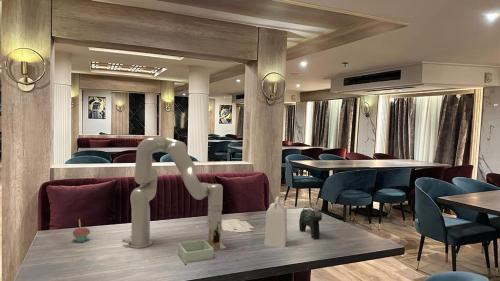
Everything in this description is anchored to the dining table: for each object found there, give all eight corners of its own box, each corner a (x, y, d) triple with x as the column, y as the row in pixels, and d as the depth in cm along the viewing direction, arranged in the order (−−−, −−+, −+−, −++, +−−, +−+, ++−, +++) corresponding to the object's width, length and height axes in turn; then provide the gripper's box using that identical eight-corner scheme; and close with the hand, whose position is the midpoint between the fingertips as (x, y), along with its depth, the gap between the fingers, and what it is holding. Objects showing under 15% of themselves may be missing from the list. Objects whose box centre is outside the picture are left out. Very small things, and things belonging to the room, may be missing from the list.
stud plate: (208, 253, 173) (208, 240, 173) (202, 246, 182) (202, 235, 182) (226, 250, 178) (226, 238, 177) (219, 244, 187) (219, 232, 186)
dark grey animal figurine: (322, 239, 199) (323, 206, 199) (312, 240, 197) (314, 207, 196) (304, 229, 218) (305, 199, 217) (296, 230, 216) (297, 199, 215)
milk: (284, 247, 185) (286, 200, 184) (264, 245, 188) (265, 199, 186) (286, 240, 197) (288, 196, 196) (267, 238, 199) (268, 194, 198)
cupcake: (69, 241, 185) (69, 219, 184) (83, 236, 192) (83, 216, 192) (79, 244, 181) (79, 222, 180) (93, 239, 188) (93, 218, 188)
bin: (185, 265, 158) (185, 252, 157) (177, 254, 170) (178, 243, 170) (213, 260, 164) (213, 248, 164) (204, 250, 176) (204, 239, 176)
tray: (242, 219, 238) (242, 214, 238) (257, 233, 212) (257, 227, 212) (214, 222, 231) (214, 216, 230) (226, 236, 205) (226, 230, 204)
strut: (211, 248, 176) (212, 227, 176) (208, 245, 181) (208, 225, 180) (220, 246, 179) (220, 226, 178) (216, 243, 183) (217, 224, 183)
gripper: (203, 204, 185) (202, 236, 186) (214, 211, 170) (213, 247, 170) (215, 203, 188) (215, 235, 189) (228, 210, 173) (227, 245, 174)
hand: (214, 240), depth 180 cm, fingers closed on strut, 5 cm apart
